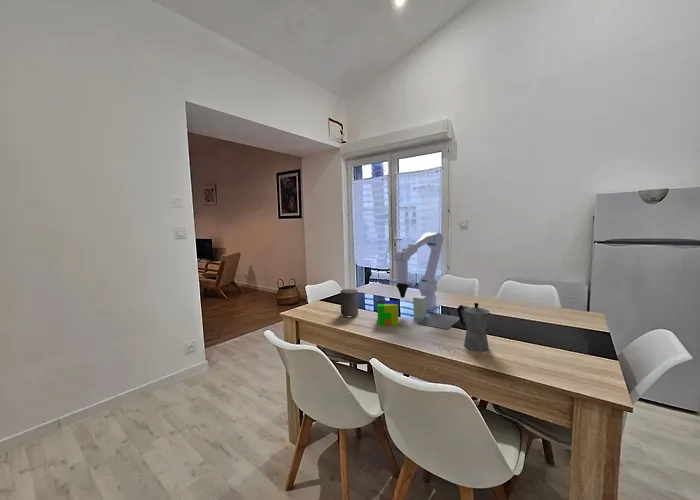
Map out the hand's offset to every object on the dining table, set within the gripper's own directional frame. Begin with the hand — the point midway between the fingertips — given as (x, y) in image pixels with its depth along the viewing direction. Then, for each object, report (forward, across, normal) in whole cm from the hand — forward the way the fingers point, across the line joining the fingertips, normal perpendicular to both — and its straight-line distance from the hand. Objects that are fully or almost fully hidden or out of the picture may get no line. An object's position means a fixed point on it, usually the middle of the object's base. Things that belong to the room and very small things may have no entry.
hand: (402, 297), depth 166 cm
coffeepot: (+10, +44, -22) cm, 50 cm away
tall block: (+10, +10, 0) cm, 14 cm away
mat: (+9, +21, 0) cm, 23 cm away
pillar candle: (+10, -24, -17) cm, 31 cm away
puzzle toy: (+10, 0, -16) cm, 19 cm away
